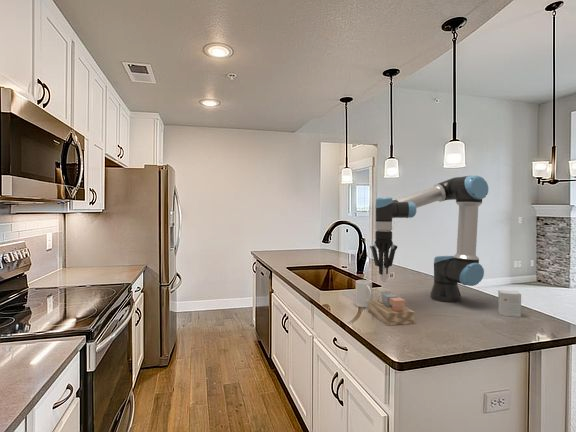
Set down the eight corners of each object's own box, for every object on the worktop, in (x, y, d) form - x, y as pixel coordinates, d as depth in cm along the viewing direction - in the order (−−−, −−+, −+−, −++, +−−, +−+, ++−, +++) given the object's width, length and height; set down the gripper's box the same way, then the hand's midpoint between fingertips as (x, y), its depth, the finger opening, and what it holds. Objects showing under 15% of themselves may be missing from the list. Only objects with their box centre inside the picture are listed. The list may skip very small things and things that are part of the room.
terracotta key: (399, 313, 154) (399, 297, 154) (405, 316, 149) (405, 300, 149) (389, 313, 153) (389, 297, 153) (394, 317, 148) (394, 300, 148)
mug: (377, 308, 171) (377, 284, 170) (361, 309, 169) (361, 285, 169) (368, 302, 182) (368, 279, 182) (352, 303, 181) (352, 280, 180)
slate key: (392, 309, 160) (392, 293, 160) (397, 312, 156) (397, 296, 156) (382, 309, 160) (382, 294, 159) (387, 312, 155) (387, 296, 155)
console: (392, 310, 169) (392, 299, 168) (414, 323, 149) (414, 311, 149) (368, 311, 166) (368, 300, 166) (387, 325, 147) (387, 313, 147)
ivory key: (386, 302, 167) (386, 288, 167) (390, 305, 162) (390, 290, 162) (376, 303, 166) (376, 288, 166) (381, 306, 161) (381, 290, 161)
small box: (517, 313, 162) (517, 291, 162) (521, 317, 157) (521, 293, 156) (497, 312, 165) (498, 289, 164) (500, 315, 159) (501, 292, 159)
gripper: (393, 230, 168) (392, 279, 169) (367, 230, 166) (366, 280, 166) (400, 231, 161) (400, 282, 161) (374, 231, 158) (373, 283, 159)
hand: (383, 281), depth 164 cm, fingers closed
